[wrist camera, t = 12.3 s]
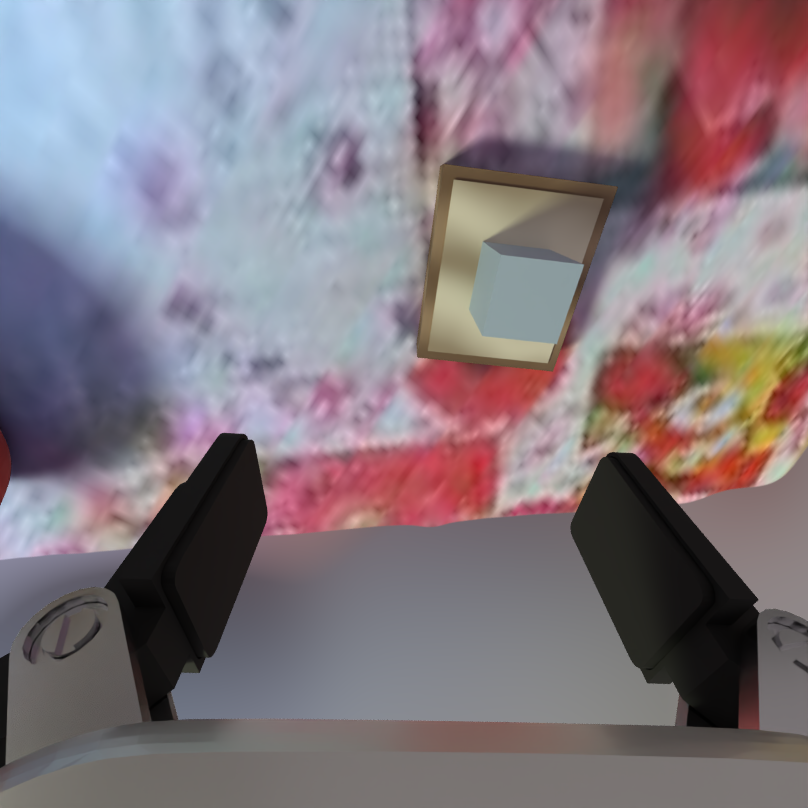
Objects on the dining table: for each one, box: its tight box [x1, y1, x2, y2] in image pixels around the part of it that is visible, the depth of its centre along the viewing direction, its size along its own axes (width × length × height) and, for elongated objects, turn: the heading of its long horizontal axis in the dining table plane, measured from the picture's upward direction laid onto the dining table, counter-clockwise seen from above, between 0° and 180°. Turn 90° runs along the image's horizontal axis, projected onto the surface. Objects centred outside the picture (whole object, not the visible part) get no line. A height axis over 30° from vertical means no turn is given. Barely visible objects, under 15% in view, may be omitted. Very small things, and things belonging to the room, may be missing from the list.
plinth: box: [417, 164, 618, 371], centre depth 29 cm, size 14×12×3 cm
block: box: [469, 242, 584, 344], centre depth 25 cm, size 5×5×6 cm
